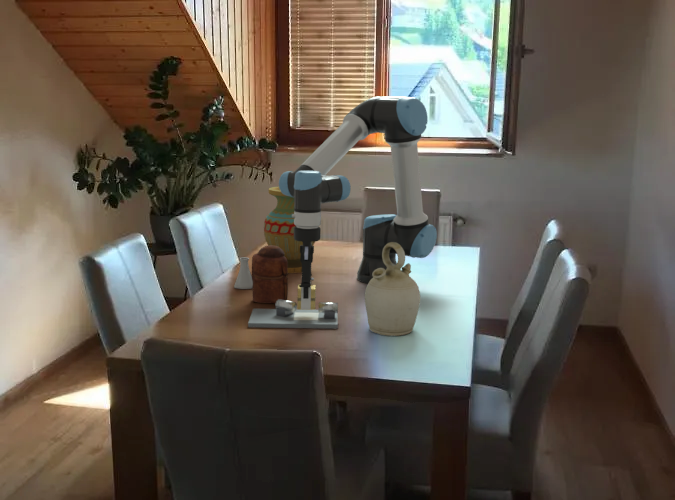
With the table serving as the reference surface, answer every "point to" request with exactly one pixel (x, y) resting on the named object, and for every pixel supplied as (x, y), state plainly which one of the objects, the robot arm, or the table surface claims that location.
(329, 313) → the shaft
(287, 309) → the shaft
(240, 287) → the flask
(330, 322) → the base plate
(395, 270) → the jug
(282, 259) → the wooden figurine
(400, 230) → the robot arm
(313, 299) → the block
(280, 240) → the vase
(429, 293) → the table surface
